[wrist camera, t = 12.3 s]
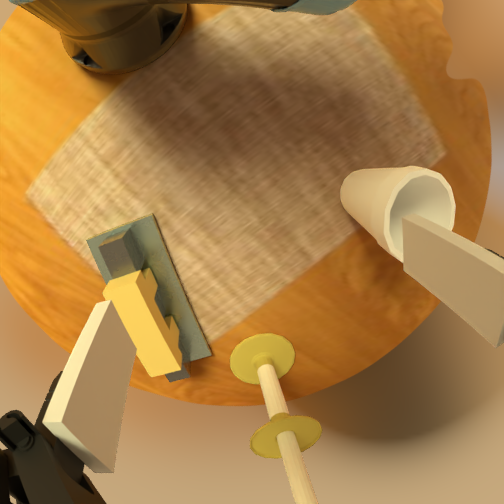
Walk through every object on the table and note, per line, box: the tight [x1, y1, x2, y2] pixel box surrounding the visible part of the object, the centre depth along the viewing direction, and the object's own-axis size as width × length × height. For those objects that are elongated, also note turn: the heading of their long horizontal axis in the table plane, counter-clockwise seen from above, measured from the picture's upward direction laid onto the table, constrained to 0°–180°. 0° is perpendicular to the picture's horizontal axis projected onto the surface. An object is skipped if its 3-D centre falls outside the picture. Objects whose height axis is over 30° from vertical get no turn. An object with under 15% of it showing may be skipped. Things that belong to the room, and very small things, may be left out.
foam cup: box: [340, 165, 456, 263], centre depth 32 cm, size 10×9×13 cm
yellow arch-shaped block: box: [102, 268, 182, 377], centre depth 34 cm, size 12×4×6 cm, turn 16°
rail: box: [86, 213, 212, 382], centre depth 36 cm, size 21×9×5 cm, turn 16°
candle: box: [230, 333, 322, 504], centre depth 29 cm, size 10×10×32 cm
